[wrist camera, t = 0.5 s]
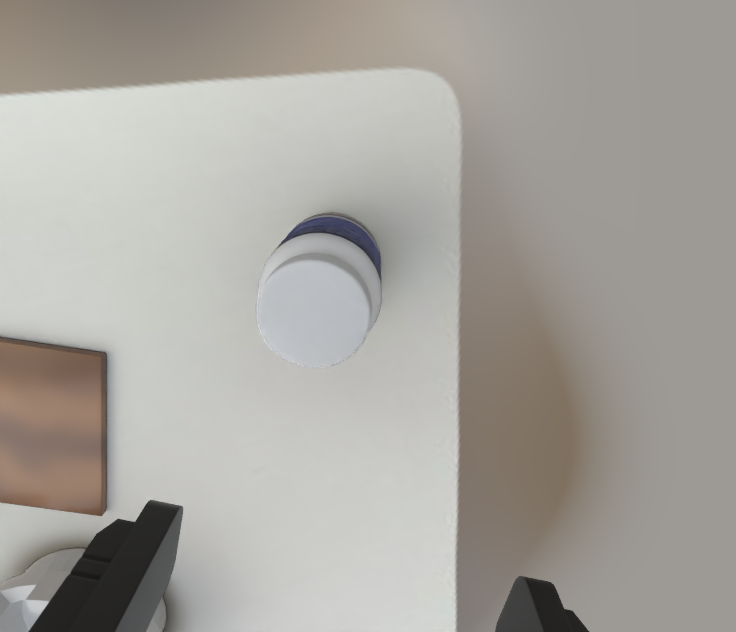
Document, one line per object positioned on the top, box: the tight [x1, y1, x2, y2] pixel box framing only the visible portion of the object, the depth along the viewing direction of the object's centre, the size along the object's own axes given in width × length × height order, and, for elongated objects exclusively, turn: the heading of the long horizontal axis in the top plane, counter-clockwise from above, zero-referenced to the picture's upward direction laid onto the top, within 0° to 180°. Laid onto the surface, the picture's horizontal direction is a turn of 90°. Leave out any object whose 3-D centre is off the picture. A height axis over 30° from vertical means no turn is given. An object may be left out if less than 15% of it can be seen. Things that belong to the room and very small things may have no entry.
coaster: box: [0, 337, 106, 516], centre depth 34 cm, size 12×12×1 cm
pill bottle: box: [256, 213, 382, 368], centre depth 25 cm, size 6×6×10 cm
